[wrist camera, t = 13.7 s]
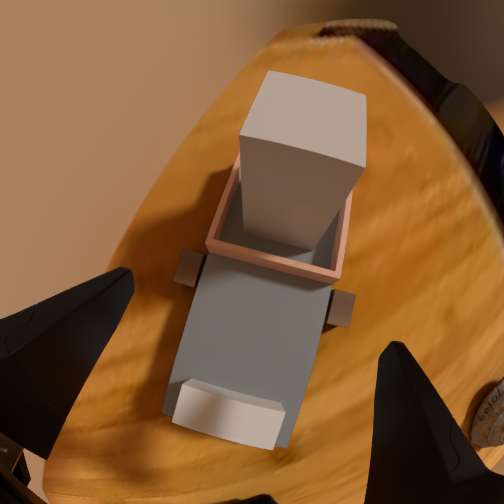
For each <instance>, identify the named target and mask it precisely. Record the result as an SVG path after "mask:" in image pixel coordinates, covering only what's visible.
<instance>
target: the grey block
mask: <svg viewBox="0 0 504 504" xmlns="http://www.w3.org/2000/svg"><path fill="white" fill-rule="evenodd" d="M239 141H240V164H241V186H242V207H243V228H244V233H246V234H250V235H254V236H258V237H261V238H265V239H269V240H273V241H277V242H280V243H284V244H288V245H292V246H296V247H299V248H303V249H307V250H310V251H313V249H314V248H315V246H316V245H317V243H318V242H319V240H320V239H321V237H322V236H323V234H324V233H325V231H326V230H327V228H328V227H329V225H330V224H331V222H332V221H333V219H334V217H335V216H336V214H337V213H338V211H339V210H340V208H341V206H342V205H343V203H344V202H345V200H346V199H347V197H348V195H349V194H350V192H351V191H352V189H353V187H354V186H355V184H356V182H357V181H358V179H359V178H360V176H361V174H362V173H363V171H364V169H365V167H366V95H363V94H361V93H358V92H355V91H351V90H348V89H345V88H342V87H338V86H335V85H331V84H328V83H324V82H320V81H317V80H312V79H308V78H304V77H300V76H295V75H290V74H285V73H280V72H275V71H268V73H267V75H266V77H265V79H264V82H263V84H262V86H261V88H260V90H259V92H258V94H257V96H256V98H255V101H254V103H253V105H252V107H251V109H250V112H249V114H248V116H247V118H246V120H245V123H244V125H243V127H242V130H241V132H240V134H239Z"/></svg>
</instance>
